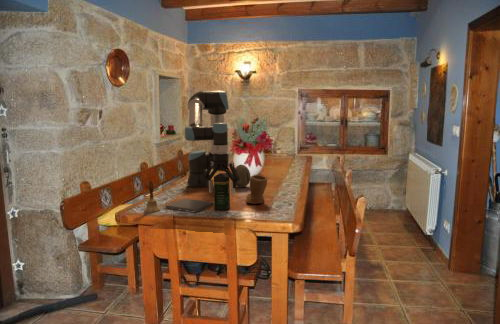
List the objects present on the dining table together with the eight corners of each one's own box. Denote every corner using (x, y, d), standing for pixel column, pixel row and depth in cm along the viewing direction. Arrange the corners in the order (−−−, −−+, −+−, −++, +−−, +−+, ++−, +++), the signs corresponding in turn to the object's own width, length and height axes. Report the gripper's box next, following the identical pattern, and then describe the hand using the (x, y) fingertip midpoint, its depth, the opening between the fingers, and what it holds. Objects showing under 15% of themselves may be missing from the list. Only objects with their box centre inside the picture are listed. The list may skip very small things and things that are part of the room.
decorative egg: (254, 186, 251) (254, 164, 248) (241, 190, 242) (241, 166, 240) (241, 184, 259) (241, 162, 256) (229, 187, 250) (228, 164, 248)
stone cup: (267, 205, 206) (266, 178, 204) (245, 205, 207) (244, 178, 204) (268, 198, 221) (267, 172, 218) (247, 198, 222) (247, 172, 219)
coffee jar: (227, 211, 197) (226, 175, 194) (212, 210, 198) (211, 175, 195) (231, 205, 206) (230, 172, 203) (217, 205, 207) (216, 171, 204)
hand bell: (145, 208, 204) (143, 179, 202) (161, 207, 205) (159, 178, 202) (142, 212, 196) (140, 182, 194) (159, 212, 197) (157, 181, 194)
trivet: (165, 208, 204) (165, 205, 204) (183, 201, 218) (183, 198, 218) (196, 212, 195) (196, 209, 195) (213, 204, 209) (213, 202, 209)
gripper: (196, 152, 200) (198, 192, 203) (238, 154, 188) (239, 196, 192) (204, 151, 206) (206, 189, 209) (245, 153, 195) (246, 193, 198)
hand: (222, 193), depth 201 cm, fingers open, 13 cm apart
